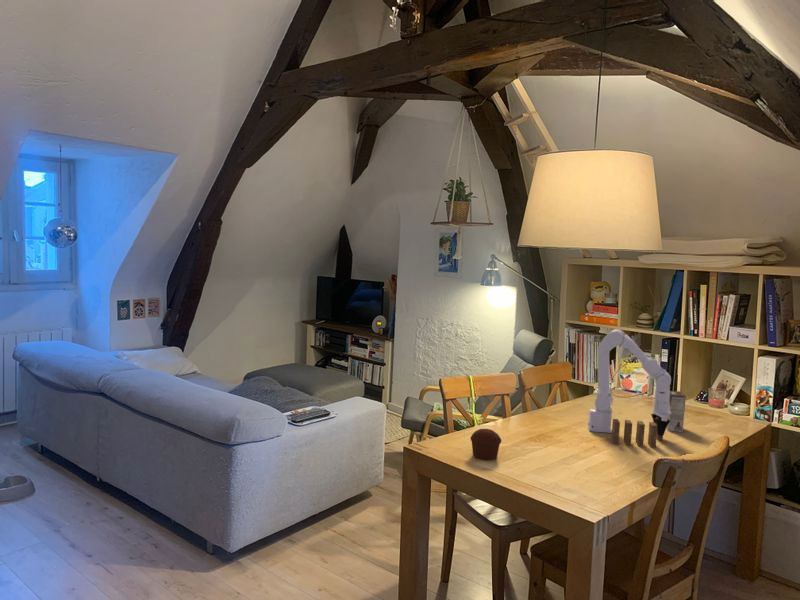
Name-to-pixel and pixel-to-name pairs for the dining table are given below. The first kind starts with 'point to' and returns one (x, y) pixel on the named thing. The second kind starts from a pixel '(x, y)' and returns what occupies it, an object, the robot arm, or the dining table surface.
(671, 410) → the coffee box
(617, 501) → the dining table surface
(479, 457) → the muffin
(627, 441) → the domino
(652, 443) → the domino
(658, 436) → the domino
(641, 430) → the domino
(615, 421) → the domino
